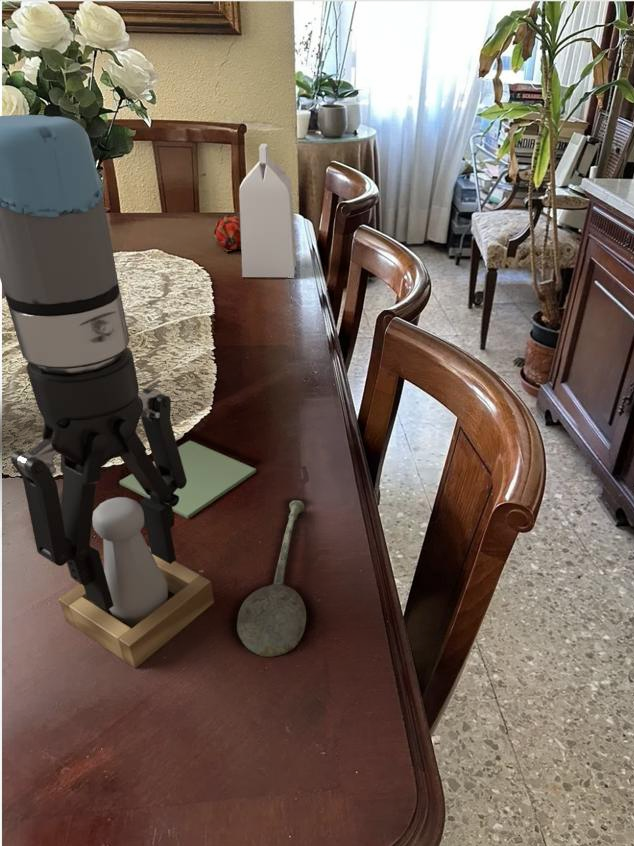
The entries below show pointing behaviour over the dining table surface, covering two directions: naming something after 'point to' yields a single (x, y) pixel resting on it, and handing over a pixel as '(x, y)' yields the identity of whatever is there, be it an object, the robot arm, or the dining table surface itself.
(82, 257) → the robot arm
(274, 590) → the soupspoon
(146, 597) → the salt shaker
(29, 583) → the dining table surface
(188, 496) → the mat
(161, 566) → the frame
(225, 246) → the dragon fruit
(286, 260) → the milk
